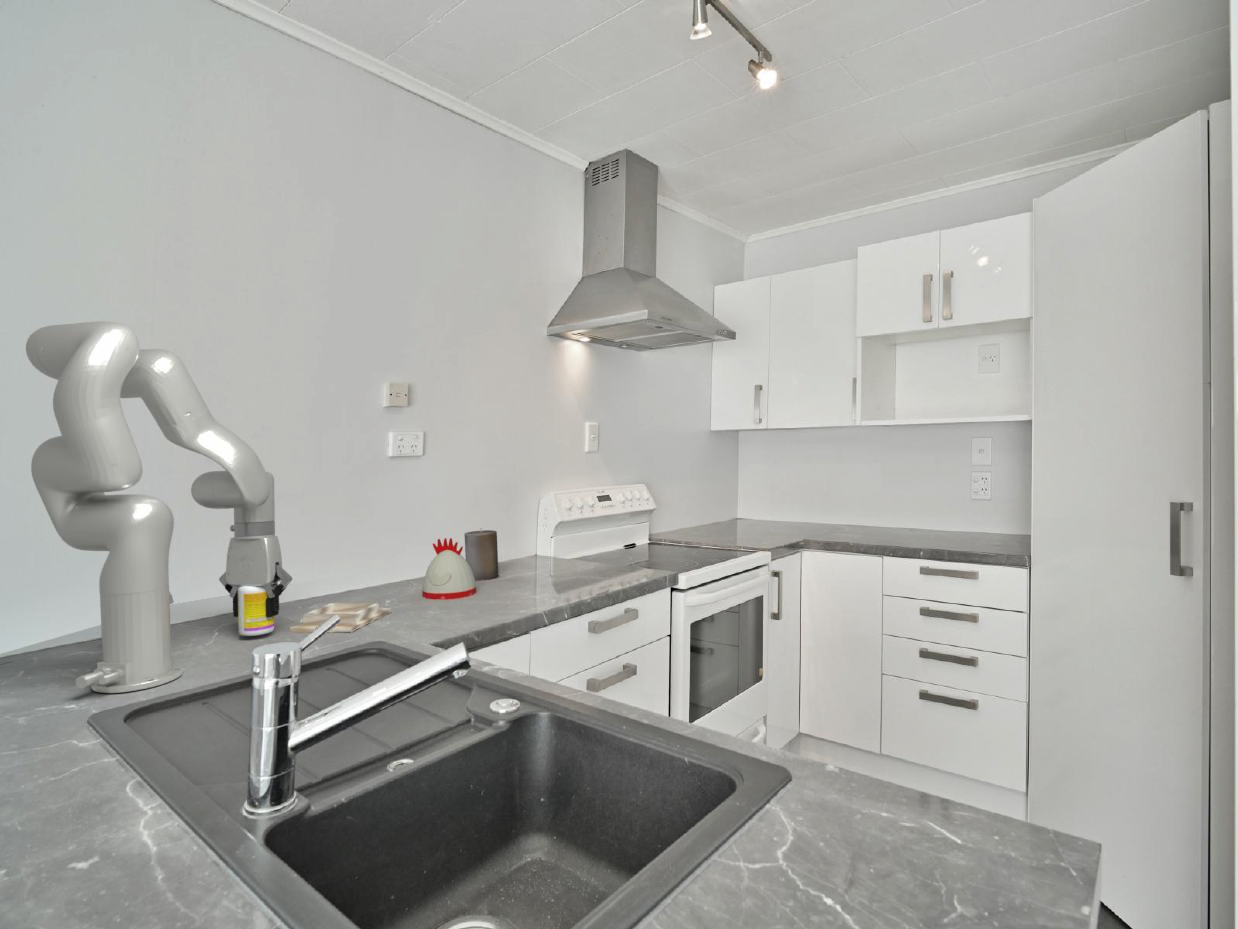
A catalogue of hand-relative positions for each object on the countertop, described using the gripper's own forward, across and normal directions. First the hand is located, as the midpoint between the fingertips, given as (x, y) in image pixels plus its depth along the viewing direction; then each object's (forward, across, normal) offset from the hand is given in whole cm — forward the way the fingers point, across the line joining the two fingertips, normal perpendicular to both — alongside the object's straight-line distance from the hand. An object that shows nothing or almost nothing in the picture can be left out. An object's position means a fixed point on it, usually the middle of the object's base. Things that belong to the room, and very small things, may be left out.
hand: (256, 615), depth 140 cm
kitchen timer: (+4, +25, +43) cm, 50 cm away
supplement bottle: (+4, 0, 0) cm, 4 cm away
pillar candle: (+3, +26, +66) cm, 71 cm away
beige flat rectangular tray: (+4, +12, +13) cm, 18 cm away
